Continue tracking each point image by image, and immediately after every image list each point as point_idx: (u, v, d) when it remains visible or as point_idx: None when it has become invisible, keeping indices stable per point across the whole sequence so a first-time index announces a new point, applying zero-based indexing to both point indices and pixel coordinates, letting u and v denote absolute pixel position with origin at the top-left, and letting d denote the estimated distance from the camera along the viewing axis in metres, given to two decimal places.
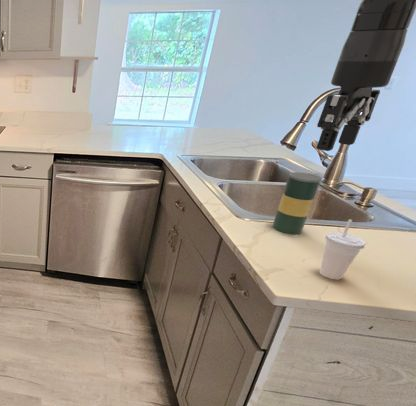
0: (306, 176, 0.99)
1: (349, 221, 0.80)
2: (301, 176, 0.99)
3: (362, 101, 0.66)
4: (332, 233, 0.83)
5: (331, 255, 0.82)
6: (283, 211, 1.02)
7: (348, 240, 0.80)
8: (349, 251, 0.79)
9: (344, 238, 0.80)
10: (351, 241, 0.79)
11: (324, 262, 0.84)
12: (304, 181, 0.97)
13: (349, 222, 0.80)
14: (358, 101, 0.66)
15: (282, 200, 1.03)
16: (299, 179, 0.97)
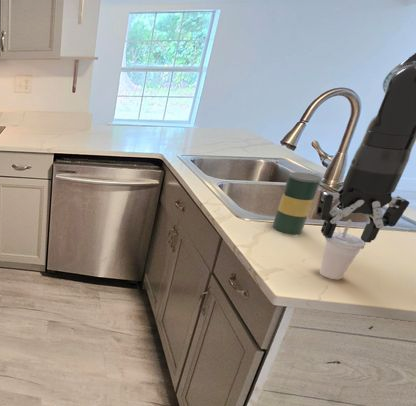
0: (306, 176, 0.99)
1: (349, 221, 0.80)
2: (301, 176, 0.99)
3: (359, 202, 0.76)
4: None
5: (331, 255, 0.82)
6: (283, 211, 1.02)
7: (348, 240, 0.80)
8: (349, 251, 0.79)
9: (344, 238, 0.80)
10: (351, 241, 0.79)
11: (324, 262, 0.84)
12: (304, 181, 0.97)
13: (349, 222, 0.80)
14: (355, 201, 0.76)
15: (282, 200, 1.03)
16: (299, 179, 0.97)
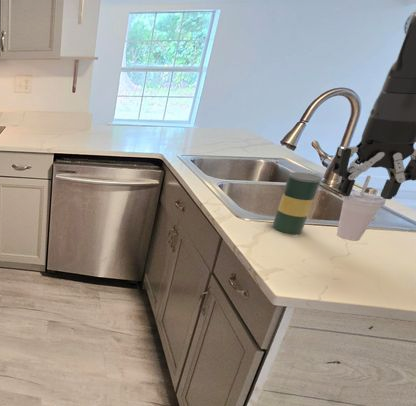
0: (306, 176, 0.99)
1: (368, 177, 0.75)
2: (301, 176, 0.99)
3: (379, 154, 0.72)
4: None
5: (349, 215, 0.78)
6: (283, 211, 1.02)
7: (367, 197, 0.76)
8: (368, 209, 0.75)
9: (363, 196, 0.76)
10: (370, 198, 0.75)
11: (341, 223, 0.79)
12: (304, 181, 0.97)
13: (368, 178, 0.75)
14: (374, 154, 0.72)
15: (282, 200, 1.03)
16: (299, 179, 0.97)
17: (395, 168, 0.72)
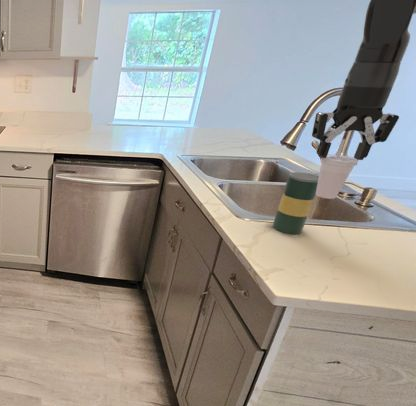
0: (306, 176, 0.99)
1: (343, 140, 0.84)
2: (301, 176, 0.99)
3: (352, 118, 0.81)
4: (327, 155, 0.88)
5: (326, 174, 0.86)
6: (283, 211, 1.02)
7: (342, 158, 0.85)
8: (343, 168, 0.84)
9: (338, 157, 0.85)
10: (345, 159, 0.84)
11: (319, 183, 0.88)
12: (304, 181, 0.97)
13: (343, 141, 0.84)
14: (348, 118, 0.81)
15: (282, 200, 1.03)
16: (299, 179, 0.97)
17: (366, 131, 0.81)
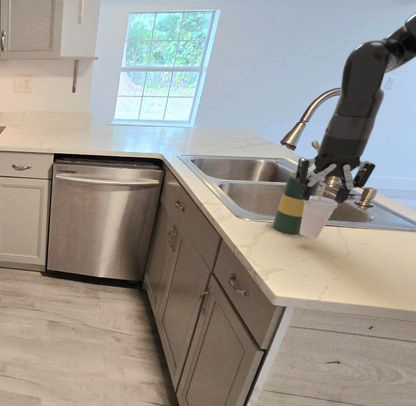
0: None
1: (324, 184, 0.90)
2: None
3: (331, 166, 0.86)
4: (310, 196, 0.93)
5: (308, 216, 0.92)
6: (283, 211, 1.02)
7: (323, 201, 0.90)
8: (324, 211, 0.89)
9: (320, 200, 0.91)
10: (326, 202, 0.89)
11: (303, 222, 0.94)
12: None
13: (324, 185, 0.90)
14: (328, 165, 0.86)
15: (282, 200, 1.03)
16: None
17: (345, 177, 0.86)
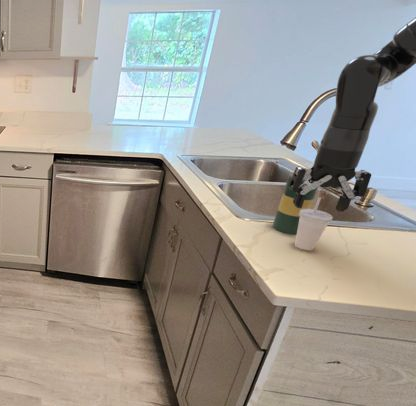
0: (306, 176, 0.99)
1: (319, 198, 0.91)
2: None
3: (327, 177, 0.87)
4: (305, 209, 0.95)
5: (303, 229, 0.93)
6: (283, 211, 1.02)
7: (318, 215, 0.91)
8: (318, 224, 0.91)
9: (315, 213, 0.92)
10: (320, 216, 0.91)
11: (298, 235, 0.95)
12: None
13: (319, 199, 0.91)
14: (324, 176, 0.87)
15: (282, 200, 1.03)
16: None
17: (343, 187, 0.87)
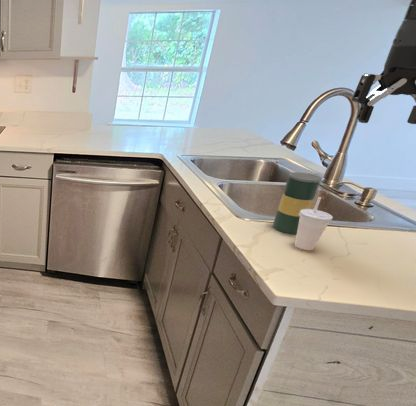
0: (306, 176, 0.99)
1: (319, 198, 0.91)
2: (301, 176, 0.99)
3: (401, 81, 0.76)
4: (305, 209, 0.95)
5: (303, 229, 0.93)
6: (283, 211, 1.02)
7: (318, 215, 0.91)
8: (318, 224, 0.91)
9: (315, 213, 0.92)
10: (320, 216, 0.91)
11: (298, 235, 0.95)
12: (304, 181, 0.97)
13: (319, 199, 0.91)
14: (397, 81, 0.76)
15: (282, 200, 1.03)
16: (299, 179, 0.97)
17: None
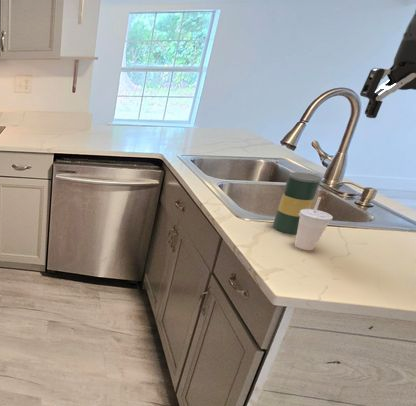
0: (306, 176, 0.99)
1: (319, 198, 0.91)
2: (301, 176, 0.99)
3: (411, 75, 0.75)
4: (305, 209, 0.95)
5: (303, 229, 0.93)
6: (283, 211, 1.02)
7: (318, 215, 0.91)
8: (318, 224, 0.91)
9: (315, 213, 0.92)
10: (320, 215, 0.91)
11: (298, 235, 0.95)
12: (304, 181, 0.97)
13: (319, 199, 0.91)
14: (406, 75, 0.75)
15: (282, 200, 1.03)
16: (299, 179, 0.97)
17: None
